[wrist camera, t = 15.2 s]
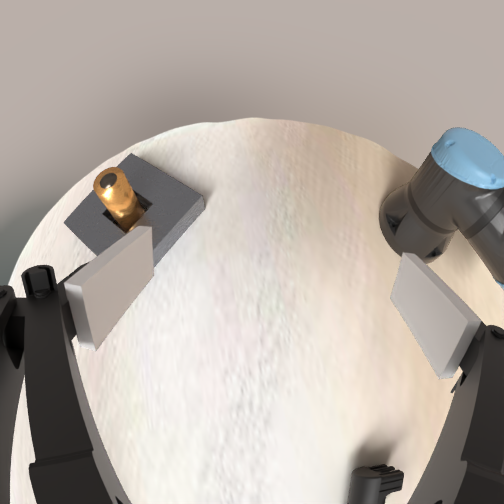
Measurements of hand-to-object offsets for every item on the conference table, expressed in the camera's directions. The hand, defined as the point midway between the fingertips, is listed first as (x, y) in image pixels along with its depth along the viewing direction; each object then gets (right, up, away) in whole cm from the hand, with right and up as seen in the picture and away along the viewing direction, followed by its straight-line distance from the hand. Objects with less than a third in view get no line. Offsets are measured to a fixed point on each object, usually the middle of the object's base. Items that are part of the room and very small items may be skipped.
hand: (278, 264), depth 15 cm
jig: (-22, +6, +34) cm, 41 cm away
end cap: (+16, -36, +17) cm, 43 cm away
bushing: (-22, +6, +34) cm, 41 cm away
